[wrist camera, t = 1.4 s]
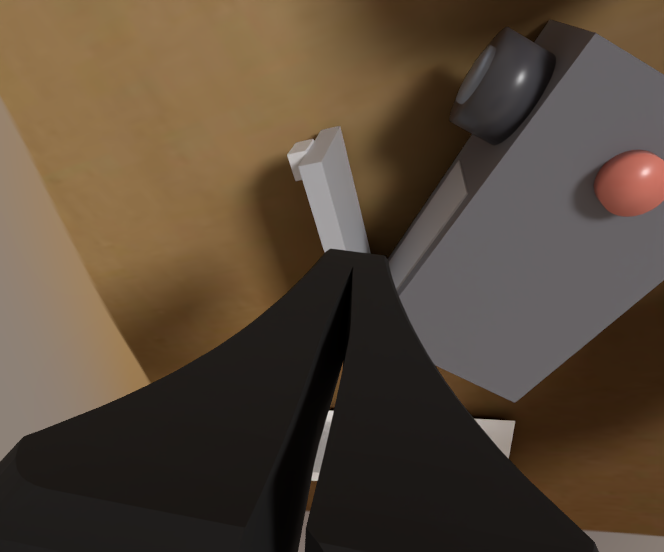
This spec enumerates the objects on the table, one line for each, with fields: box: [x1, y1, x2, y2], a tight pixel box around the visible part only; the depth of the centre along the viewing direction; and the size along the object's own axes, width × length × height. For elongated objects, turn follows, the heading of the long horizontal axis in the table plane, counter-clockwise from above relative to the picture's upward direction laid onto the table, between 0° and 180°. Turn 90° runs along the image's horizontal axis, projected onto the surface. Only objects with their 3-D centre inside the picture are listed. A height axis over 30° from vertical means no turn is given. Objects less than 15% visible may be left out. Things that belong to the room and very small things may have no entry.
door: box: [287, 126, 371, 254], centre depth 18 cm, size 8×2×5 cm, turn 15°
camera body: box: [388, 20, 664, 403], centre depth 16 cm, size 9×12×5 cm
